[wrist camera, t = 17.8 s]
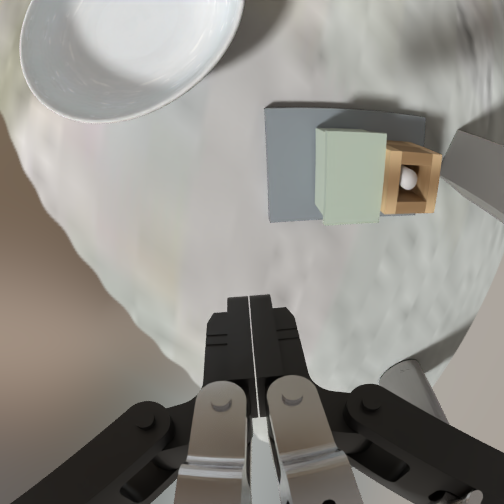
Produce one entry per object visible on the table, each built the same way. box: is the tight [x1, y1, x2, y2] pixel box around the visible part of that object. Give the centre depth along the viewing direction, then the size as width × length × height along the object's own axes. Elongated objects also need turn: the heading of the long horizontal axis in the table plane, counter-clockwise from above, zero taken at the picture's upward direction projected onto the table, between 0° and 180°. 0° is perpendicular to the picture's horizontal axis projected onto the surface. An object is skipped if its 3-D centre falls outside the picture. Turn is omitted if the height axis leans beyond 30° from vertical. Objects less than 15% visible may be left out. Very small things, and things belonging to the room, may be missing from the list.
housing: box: [315, 128, 387, 226], centre depth 27 cm, size 9×6×5 cm, turn 3°
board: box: [264, 107, 426, 223], centre depth 27 cm, size 12×18×6 cm, turn 93°
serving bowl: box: [20, 0, 245, 124], centre depth 18 cm, size 21×21×7 cm
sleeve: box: [380, 140, 442, 214], centre depth 27 cm, size 6×6×6 cm
